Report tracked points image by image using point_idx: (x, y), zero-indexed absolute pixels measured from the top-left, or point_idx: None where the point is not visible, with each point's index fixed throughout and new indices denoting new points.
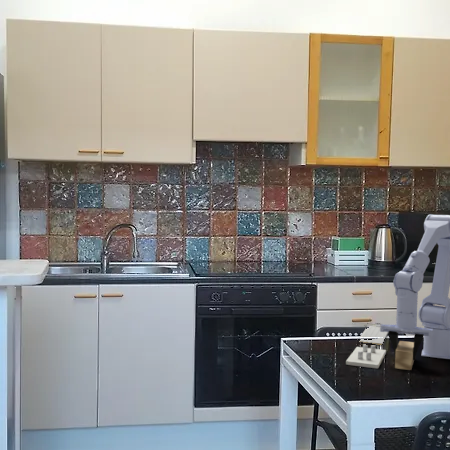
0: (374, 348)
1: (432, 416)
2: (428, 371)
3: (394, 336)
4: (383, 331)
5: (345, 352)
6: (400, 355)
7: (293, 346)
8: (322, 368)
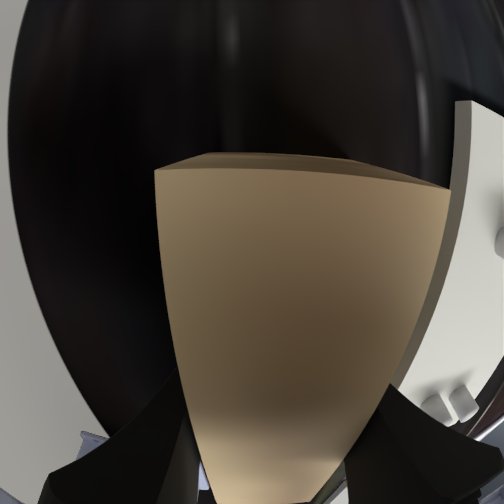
0: (437, 414)
1: None
2: (85, 185)
3: (467, 484)
4: None
5: (500, 363)
6: (351, 169)
7: None
8: None
